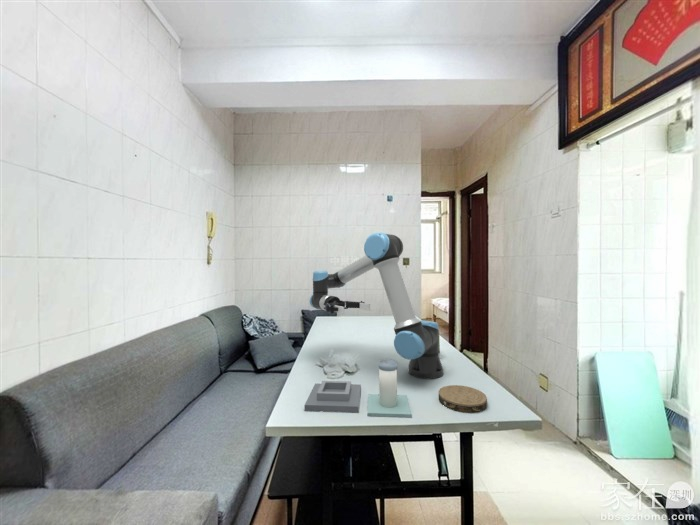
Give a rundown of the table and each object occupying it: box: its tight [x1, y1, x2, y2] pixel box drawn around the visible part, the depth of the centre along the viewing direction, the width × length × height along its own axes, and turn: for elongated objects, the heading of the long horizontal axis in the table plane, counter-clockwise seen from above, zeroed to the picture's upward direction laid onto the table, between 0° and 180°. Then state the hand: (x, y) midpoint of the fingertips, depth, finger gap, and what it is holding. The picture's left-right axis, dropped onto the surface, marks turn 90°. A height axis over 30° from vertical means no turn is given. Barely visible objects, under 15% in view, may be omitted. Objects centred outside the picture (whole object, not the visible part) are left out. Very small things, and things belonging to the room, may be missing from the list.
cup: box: [378, 358, 398, 407], centre depth 102 cm, size 6×6×14 cm
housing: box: [304, 380, 362, 414], centre depth 107 cm, size 18×18×4 cm
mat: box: [367, 393, 413, 418], centre depth 102 cm, size 14×14×1 cm
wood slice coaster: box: [438, 384, 488, 414], centre depth 105 cm, size 16×16×3 cm
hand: (356, 308), depth 125 cm, fingers open, 13 cm apart
